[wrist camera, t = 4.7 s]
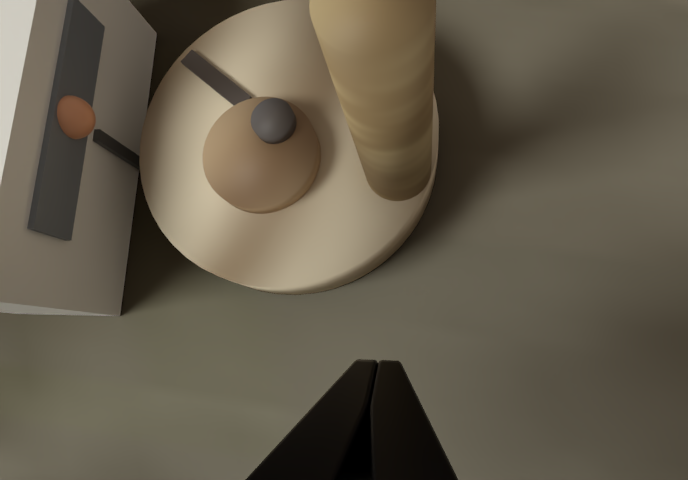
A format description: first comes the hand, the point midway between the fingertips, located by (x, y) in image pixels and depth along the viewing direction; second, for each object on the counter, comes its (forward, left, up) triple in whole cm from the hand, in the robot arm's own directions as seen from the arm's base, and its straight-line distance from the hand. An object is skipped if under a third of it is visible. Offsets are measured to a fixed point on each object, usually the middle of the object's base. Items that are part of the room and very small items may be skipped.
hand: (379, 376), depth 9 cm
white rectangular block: (+9, +15, -10) cm, 20 cm away
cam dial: (+9, +5, -10) cm, 14 cm away
